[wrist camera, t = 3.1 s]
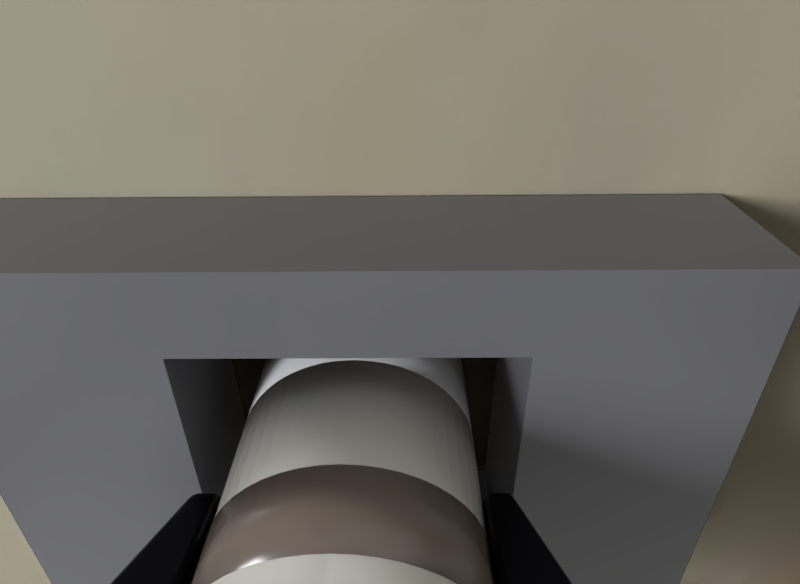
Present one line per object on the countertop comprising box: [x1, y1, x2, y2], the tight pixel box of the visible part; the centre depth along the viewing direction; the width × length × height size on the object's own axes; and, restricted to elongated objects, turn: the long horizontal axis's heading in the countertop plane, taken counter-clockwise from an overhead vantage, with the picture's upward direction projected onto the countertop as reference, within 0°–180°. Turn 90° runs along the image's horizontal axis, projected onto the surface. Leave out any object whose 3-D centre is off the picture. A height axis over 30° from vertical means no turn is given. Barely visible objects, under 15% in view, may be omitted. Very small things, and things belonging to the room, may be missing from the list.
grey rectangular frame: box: [0, 194, 800, 584], centre depth 10 cm, size 12×8×2 cm, turn 91°
